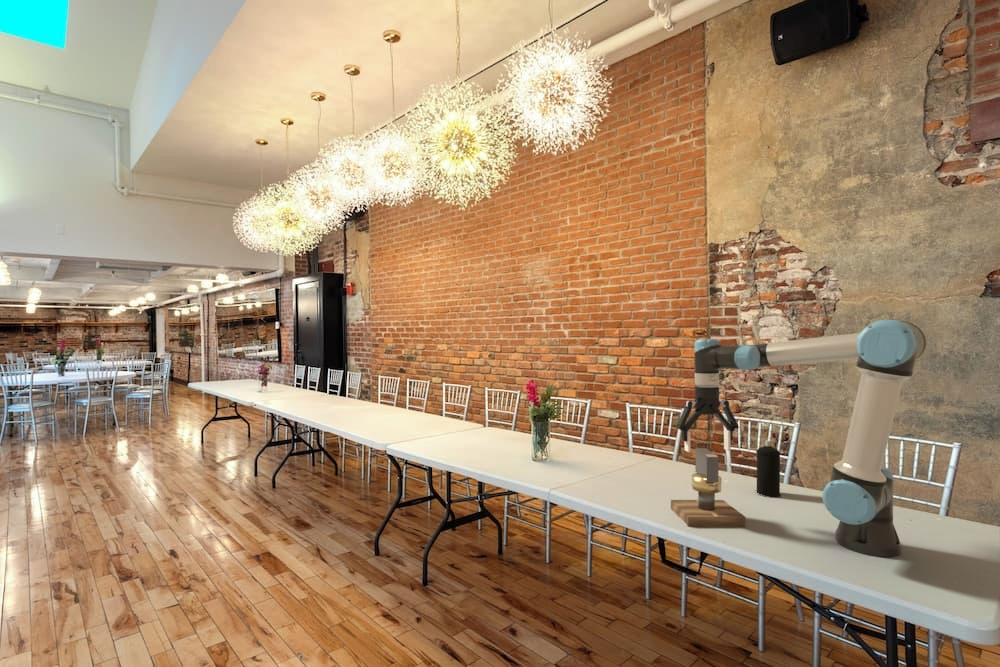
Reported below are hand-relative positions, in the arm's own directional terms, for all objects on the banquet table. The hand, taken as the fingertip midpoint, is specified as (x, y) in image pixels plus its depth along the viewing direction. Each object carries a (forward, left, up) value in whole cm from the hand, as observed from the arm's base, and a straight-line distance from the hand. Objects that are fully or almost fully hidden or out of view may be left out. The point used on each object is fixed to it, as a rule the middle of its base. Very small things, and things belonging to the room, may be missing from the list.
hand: (707, 450), depth 167 cm
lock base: (0, 0, -22) cm, 22 cm away
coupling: (0, 0, -13) cm, 13 cm away
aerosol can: (+24, -33, -22) cm, 46 cm away
